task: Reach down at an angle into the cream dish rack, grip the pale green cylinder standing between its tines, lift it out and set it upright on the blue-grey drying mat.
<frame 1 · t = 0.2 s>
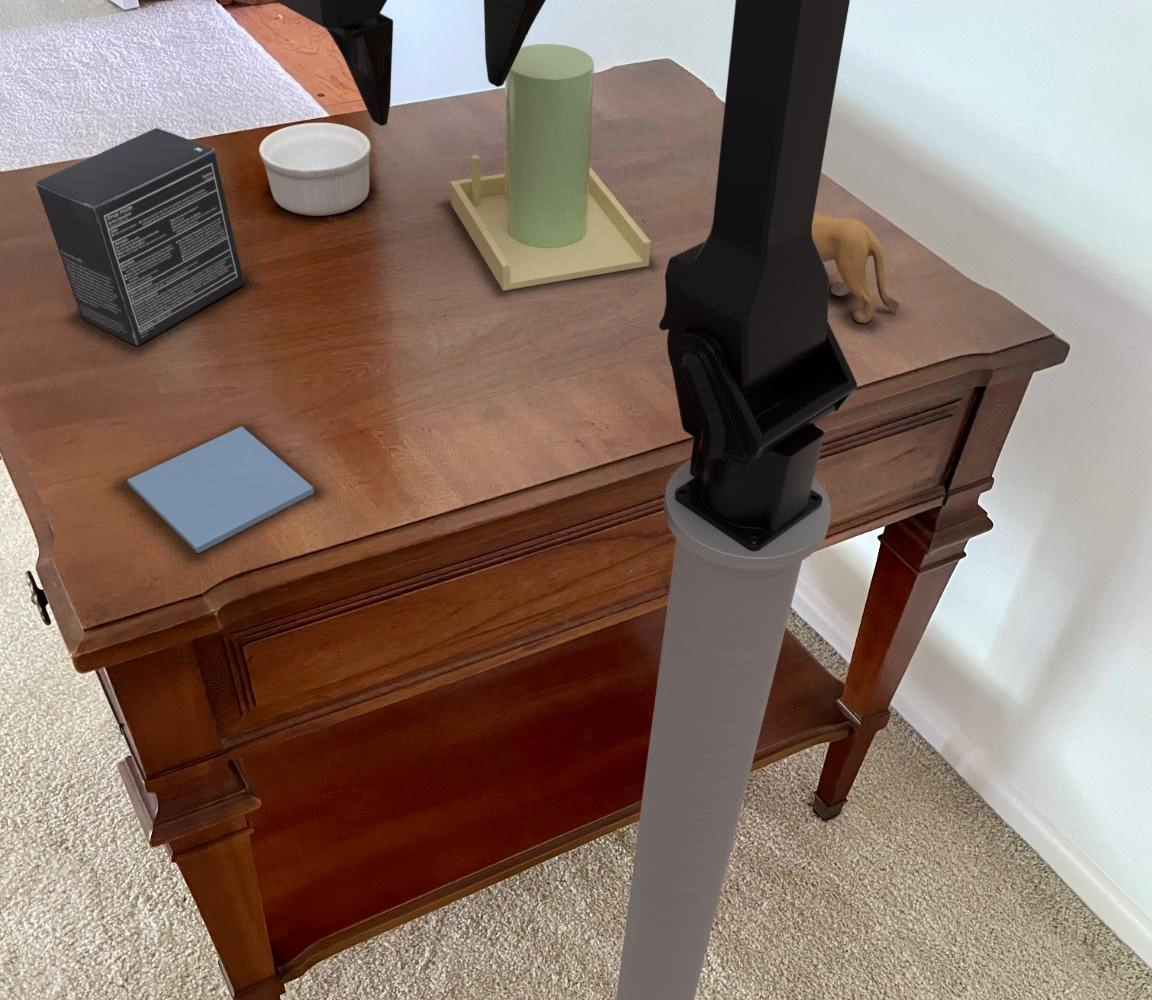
hand: (439, 103, 71), 16 cm above the table, tool pointing down, fingers open, 9 cm apart
drying mat: (221, 489, 69), on the table
lion figurine: (792, 298, 86), on the table
small box: (164, 303, 83), on the table
pale green cylinder: (547, 227, 91), point 1 cm above the table, touching dish rack
ramekin: (322, 197, 95), on the table
dish rack: (547, 234, 91), on the table
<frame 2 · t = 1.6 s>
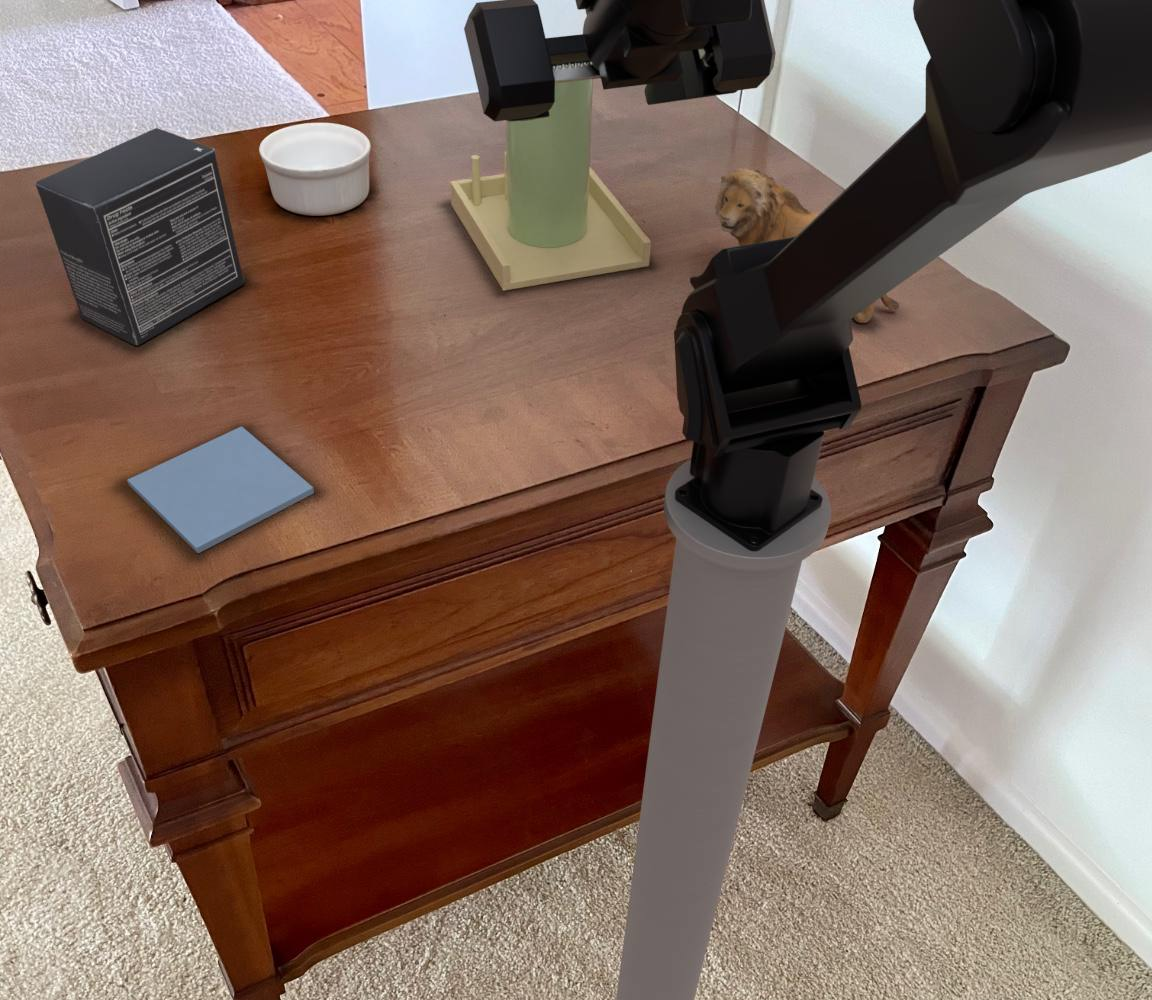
hand: (585, 105, 77), 13 cm above the table, tool tilted 45°, fingers open, 9 cm apart
nothing on the table moved.
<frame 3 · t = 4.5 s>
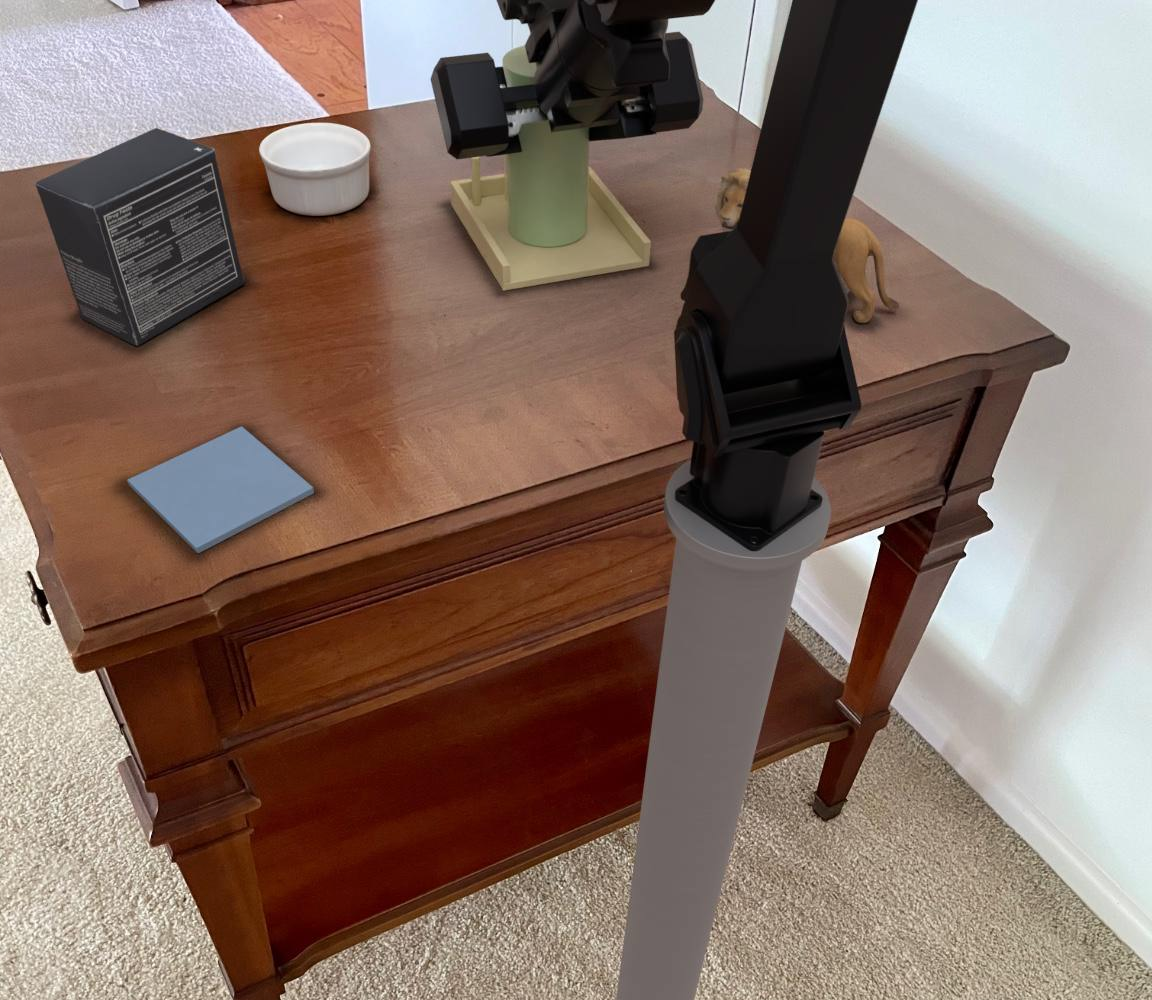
hand: (541, 140, 87), 7 cm above the table, tool tilted 45°, fingers closed on pale green cylinder, 6 cm apart
pale green cylinder: (547, 227, 91), point 1 cm above the table, touching dish rack, gripper
everything else where it was.
when the fingers open (7 cm above the table, at t = 13.5 s): pale green cylinder stays where it is, resting on drying mat.
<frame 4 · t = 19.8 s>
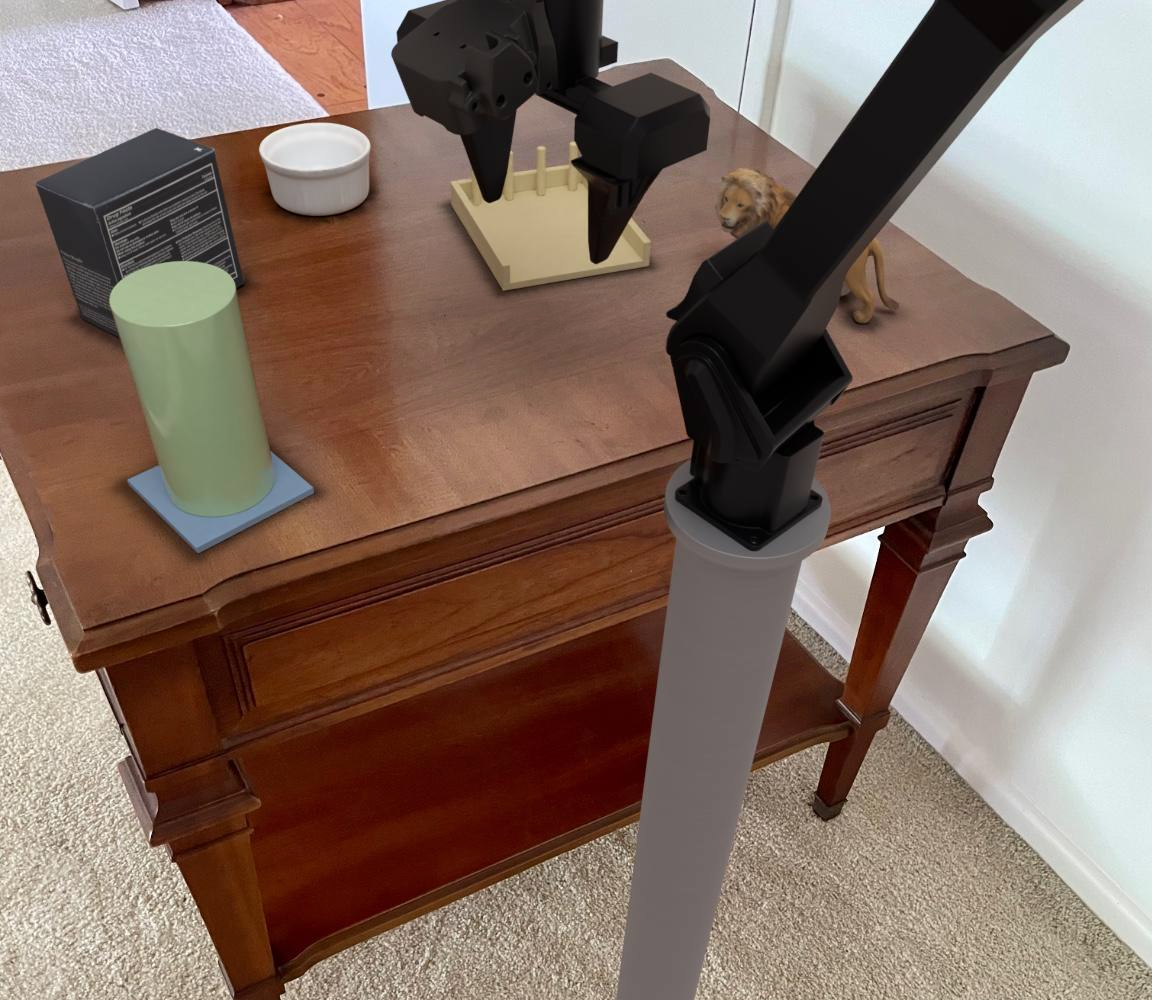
hand: (543, 229, 66), 13 cm above the table, tool pointing down, fingers open, 9 cm apart
pale green cylinder: (221, 482, 69), resting on drying mat
everything else where it was.
at the end: pale green cylinder inside the target area on the drying mat (0.1 cm from its centre), point 0.5 cm above the drying mat's base; pale green cylinder tilted 0°; pale green cylinder touching drying mat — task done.
